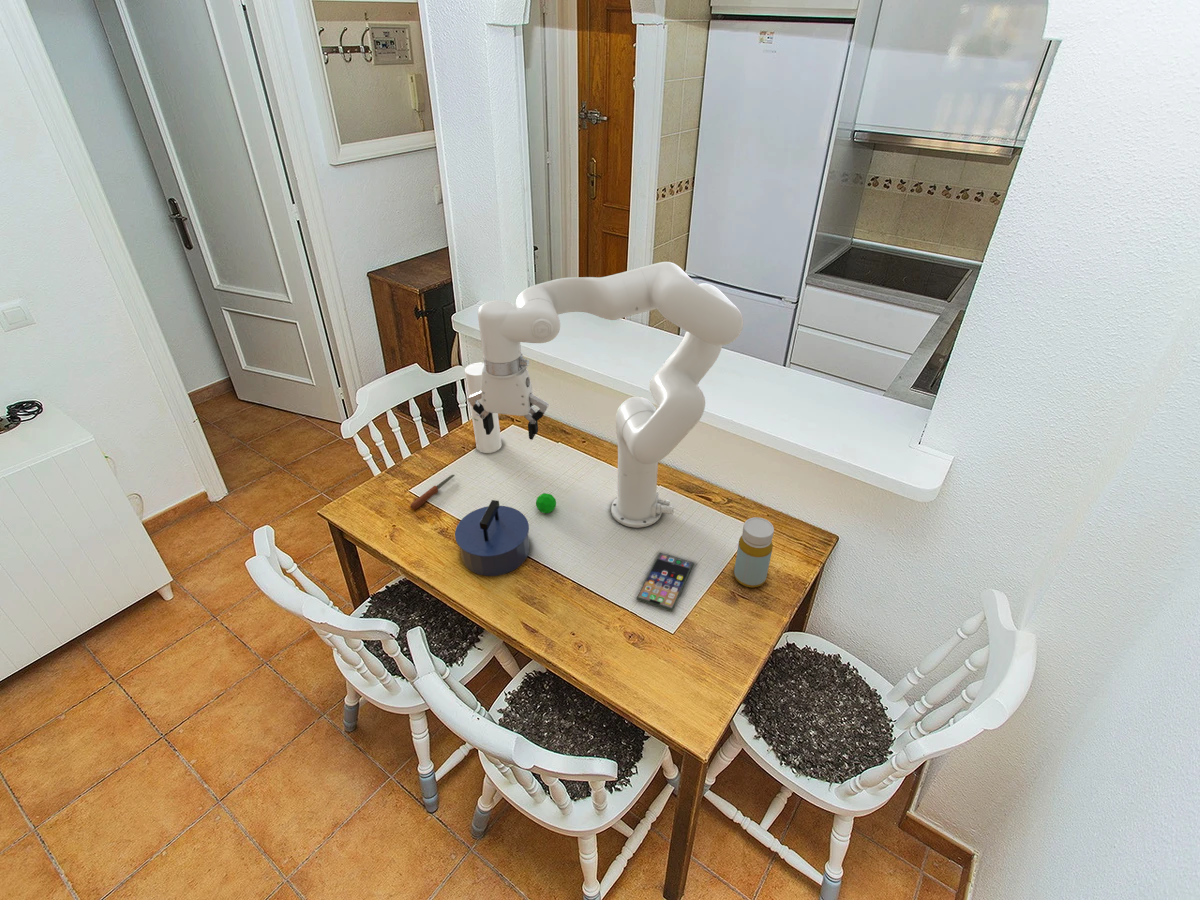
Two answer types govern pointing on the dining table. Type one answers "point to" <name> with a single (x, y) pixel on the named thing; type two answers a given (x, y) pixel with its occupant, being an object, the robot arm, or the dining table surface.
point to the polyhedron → (546, 503)
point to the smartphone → (665, 581)
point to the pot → (496, 561)
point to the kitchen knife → (429, 494)
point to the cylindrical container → (482, 440)
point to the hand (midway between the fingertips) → (511, 433)
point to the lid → (492, 531)
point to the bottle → (754, 552)
